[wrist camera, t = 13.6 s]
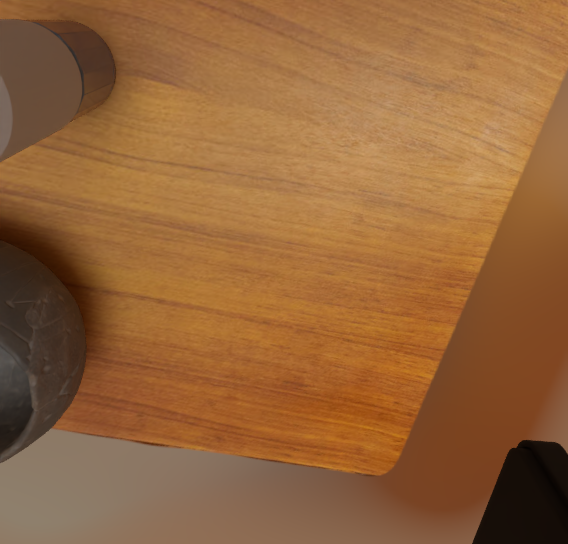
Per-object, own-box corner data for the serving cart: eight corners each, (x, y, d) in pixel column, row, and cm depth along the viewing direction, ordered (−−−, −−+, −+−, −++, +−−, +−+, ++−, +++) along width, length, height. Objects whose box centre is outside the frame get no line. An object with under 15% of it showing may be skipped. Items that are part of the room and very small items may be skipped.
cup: (24, 15, 38) (-32, 14, 31) (114, 26, 38) (81, 27, 31) (31, 106, 40) (-19, 126, 33) (116, 115, 41) (85, 136, 34)
